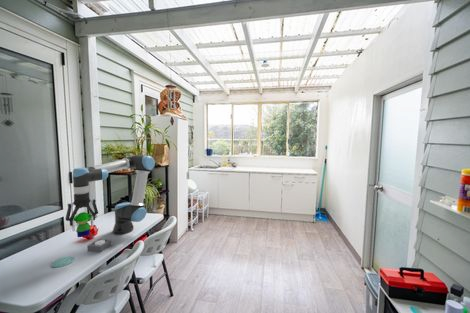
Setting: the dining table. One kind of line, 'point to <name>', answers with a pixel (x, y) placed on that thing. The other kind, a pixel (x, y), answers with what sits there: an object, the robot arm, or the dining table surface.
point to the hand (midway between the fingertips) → (83, 227)
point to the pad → (62, 261)
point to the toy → (82, 224)
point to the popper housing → (99, 246)
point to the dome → (100, 242)
